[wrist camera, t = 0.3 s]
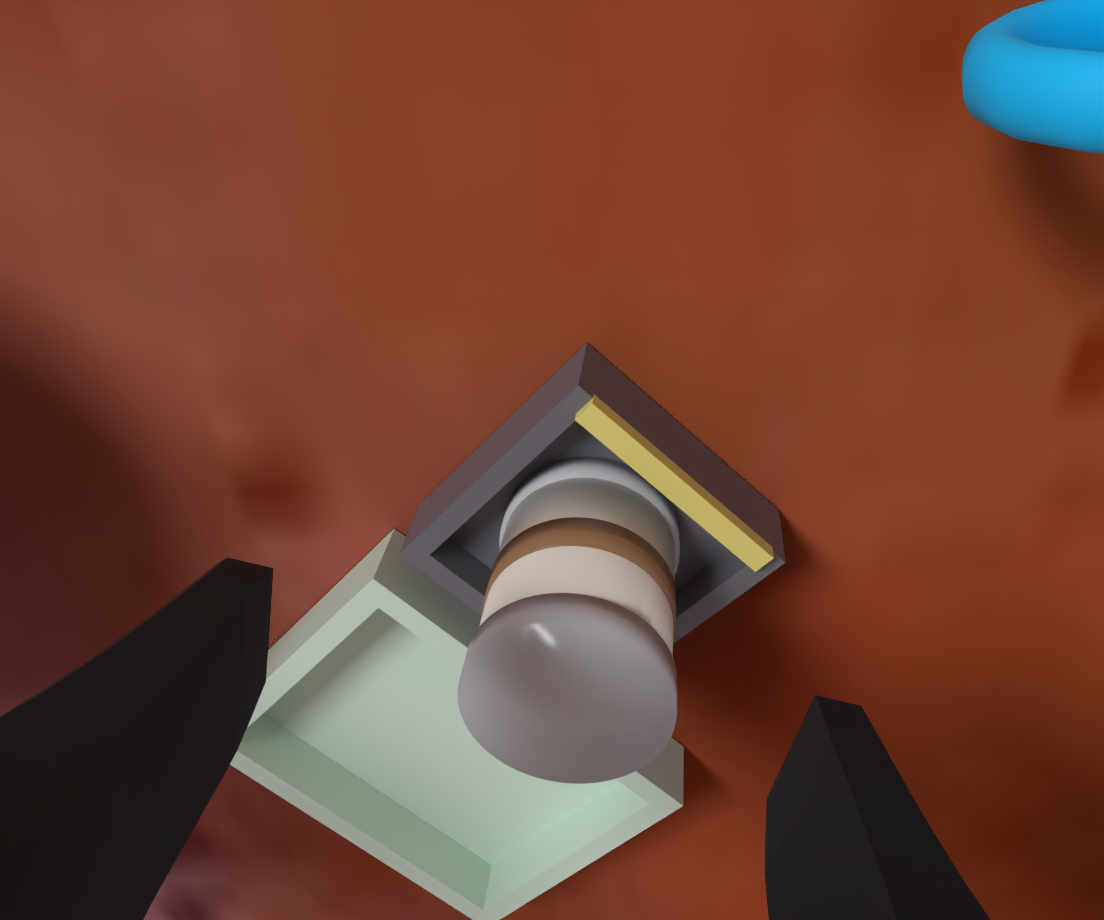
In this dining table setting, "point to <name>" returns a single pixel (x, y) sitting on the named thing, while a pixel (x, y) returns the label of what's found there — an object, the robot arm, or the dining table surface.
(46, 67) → the dining table surface
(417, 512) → the grey square holder
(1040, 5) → the mug
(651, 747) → the fuse
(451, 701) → the parts tray
